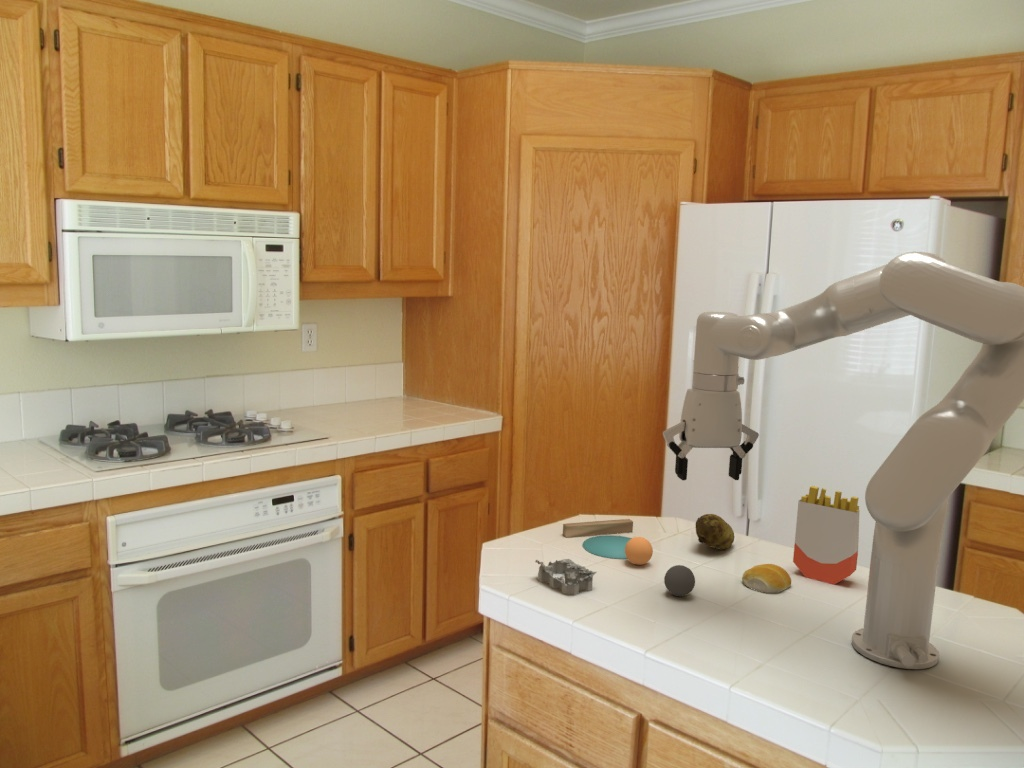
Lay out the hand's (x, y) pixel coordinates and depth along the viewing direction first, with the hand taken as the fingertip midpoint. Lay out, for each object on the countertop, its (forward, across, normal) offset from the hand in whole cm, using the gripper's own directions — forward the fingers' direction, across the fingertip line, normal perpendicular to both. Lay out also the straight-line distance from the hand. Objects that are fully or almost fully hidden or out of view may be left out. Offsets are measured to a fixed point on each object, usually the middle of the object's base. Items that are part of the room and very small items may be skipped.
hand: (707, 478), depth 149 cm
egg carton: (+22, +23, -7) cm, 33 cm away
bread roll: (+23, -15, -5) cm, 28 cm away
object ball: (+19, +7, -16) cm, 26 cm away
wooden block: (+22, +10, -35) cm, 43 cm away
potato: (+22, -13, -25) cm, 36 cm away
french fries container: (+22, -28, -8) cm, 37 cm away
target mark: (+22, +8, -26) cm, 35 cm away
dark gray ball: (+19, +4, -1) cm, 20 cm away
